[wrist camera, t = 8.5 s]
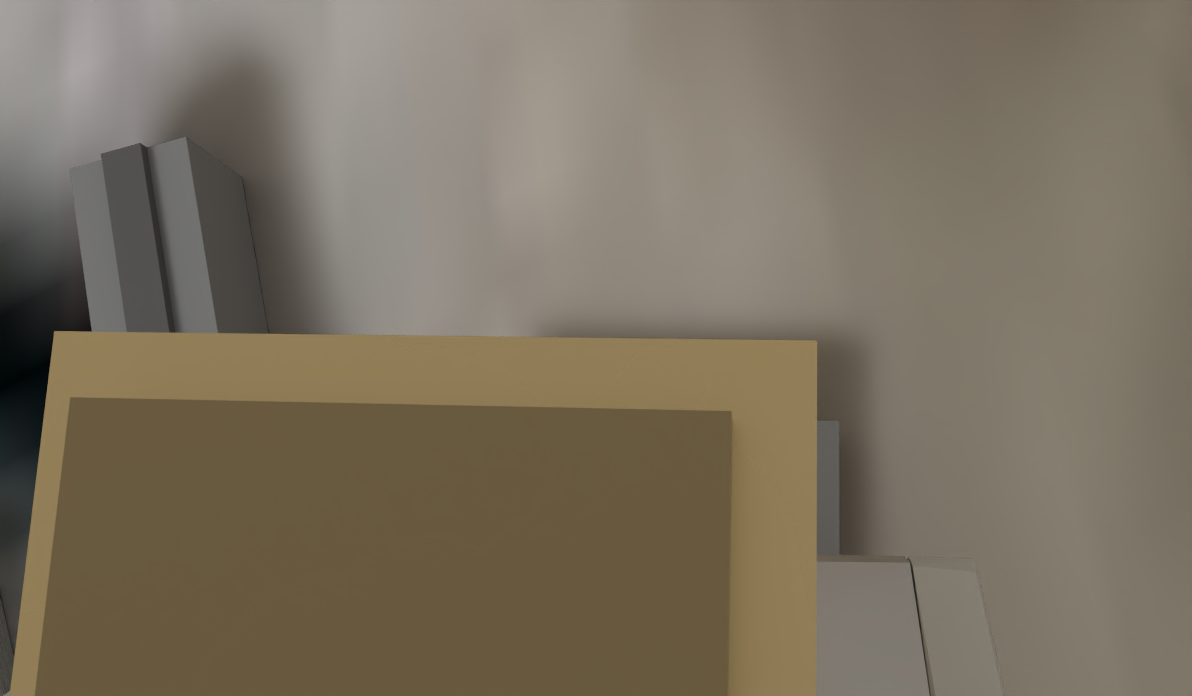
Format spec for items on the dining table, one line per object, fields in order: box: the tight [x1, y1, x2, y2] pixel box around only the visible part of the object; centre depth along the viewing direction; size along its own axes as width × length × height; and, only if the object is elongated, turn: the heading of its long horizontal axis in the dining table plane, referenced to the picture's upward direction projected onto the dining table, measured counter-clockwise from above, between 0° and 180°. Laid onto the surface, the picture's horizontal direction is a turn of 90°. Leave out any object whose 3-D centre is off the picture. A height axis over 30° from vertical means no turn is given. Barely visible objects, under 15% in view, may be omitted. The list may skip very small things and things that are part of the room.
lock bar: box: [10, 331, 817, 696], centre depth 10 cm, size 4×4×10 cm
